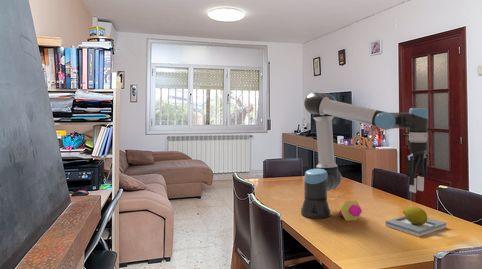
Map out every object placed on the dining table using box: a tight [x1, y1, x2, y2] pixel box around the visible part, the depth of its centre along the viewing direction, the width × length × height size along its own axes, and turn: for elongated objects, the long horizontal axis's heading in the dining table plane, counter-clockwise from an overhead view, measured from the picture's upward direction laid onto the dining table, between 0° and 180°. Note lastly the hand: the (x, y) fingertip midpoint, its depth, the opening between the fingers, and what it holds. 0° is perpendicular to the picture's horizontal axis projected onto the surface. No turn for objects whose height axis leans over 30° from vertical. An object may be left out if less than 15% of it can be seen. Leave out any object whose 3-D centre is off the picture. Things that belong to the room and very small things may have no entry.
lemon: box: [403, 206, 428, 225], centre depth 149 cm, size 11×8×8 cm
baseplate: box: [384, 215, 447, 237], centre depth 149 cm, size 22×16×2 cm
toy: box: [338, 200, 363, 221], centre depth 160 cm, size 10×18×10 cm, turn 4°
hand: (416, 191), depth 148 cm, fingers open, 5 cm apart
